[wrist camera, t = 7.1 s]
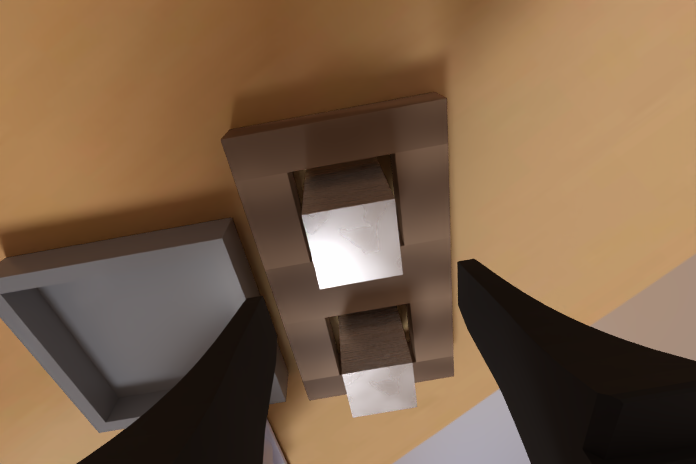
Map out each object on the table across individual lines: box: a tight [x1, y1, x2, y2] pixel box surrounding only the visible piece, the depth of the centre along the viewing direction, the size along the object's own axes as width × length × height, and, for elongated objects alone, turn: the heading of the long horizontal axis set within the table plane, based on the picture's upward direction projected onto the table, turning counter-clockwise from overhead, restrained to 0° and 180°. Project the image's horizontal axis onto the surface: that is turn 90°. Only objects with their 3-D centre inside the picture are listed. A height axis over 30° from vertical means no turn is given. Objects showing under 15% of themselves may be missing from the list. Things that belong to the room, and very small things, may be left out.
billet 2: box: [338, 305, 417, 417], centre depth 24 cm, size 4×4×6 cm
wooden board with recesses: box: [221, 92, 454, 400], centre depth 23 cm, size 20×11×2 cm, turn 9°
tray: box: [0, 218, 288, 433], centre depth 24 cm, size 14×14×2 cm
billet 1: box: [302, 157, 403, 289], centre depth 19 cm, size 4×4×6 cm
